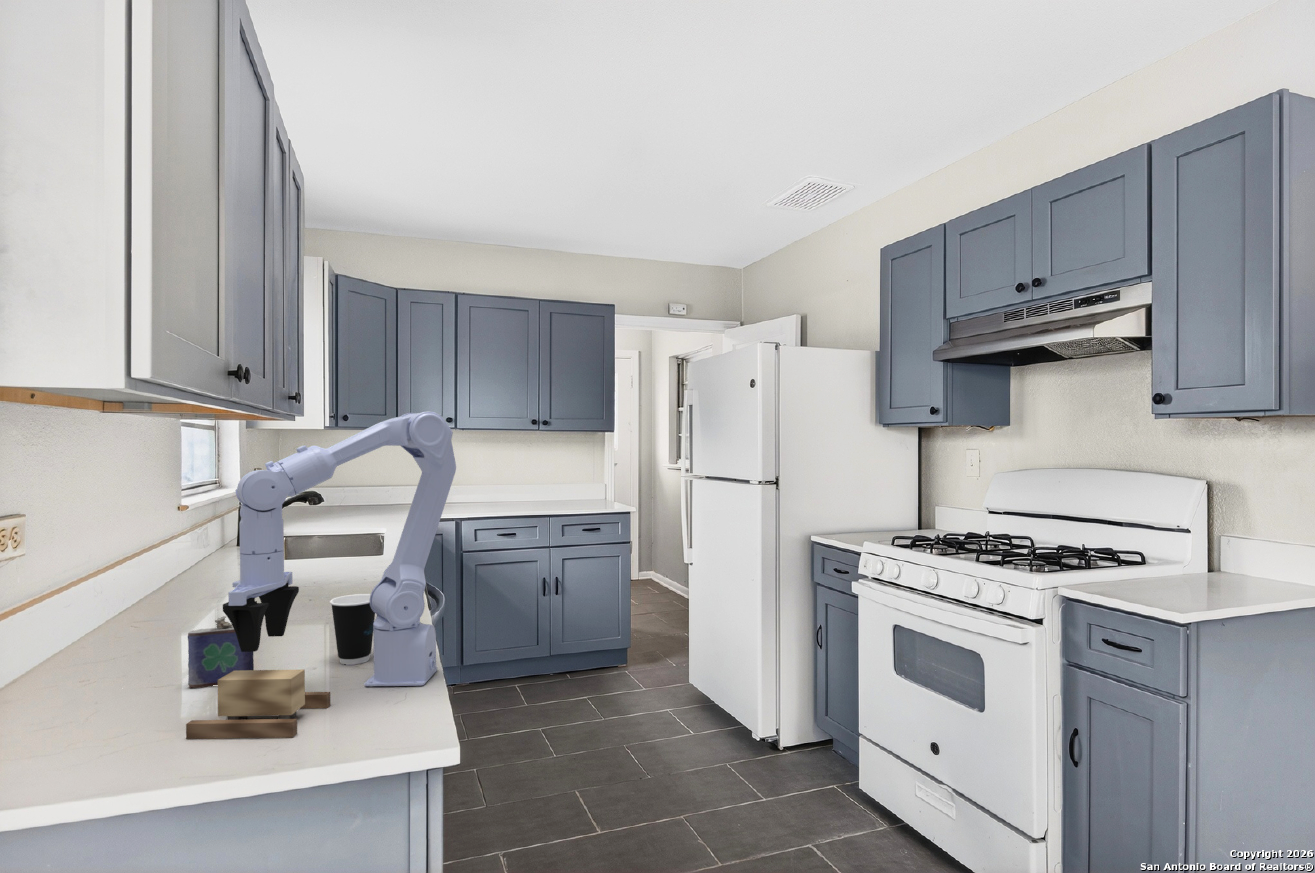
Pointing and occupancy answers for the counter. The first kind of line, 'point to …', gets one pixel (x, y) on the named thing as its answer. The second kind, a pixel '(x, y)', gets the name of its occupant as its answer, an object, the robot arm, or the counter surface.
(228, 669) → the flask
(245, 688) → the light wooden block
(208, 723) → the peg frame
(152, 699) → the counter surface
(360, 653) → the dixie cup
